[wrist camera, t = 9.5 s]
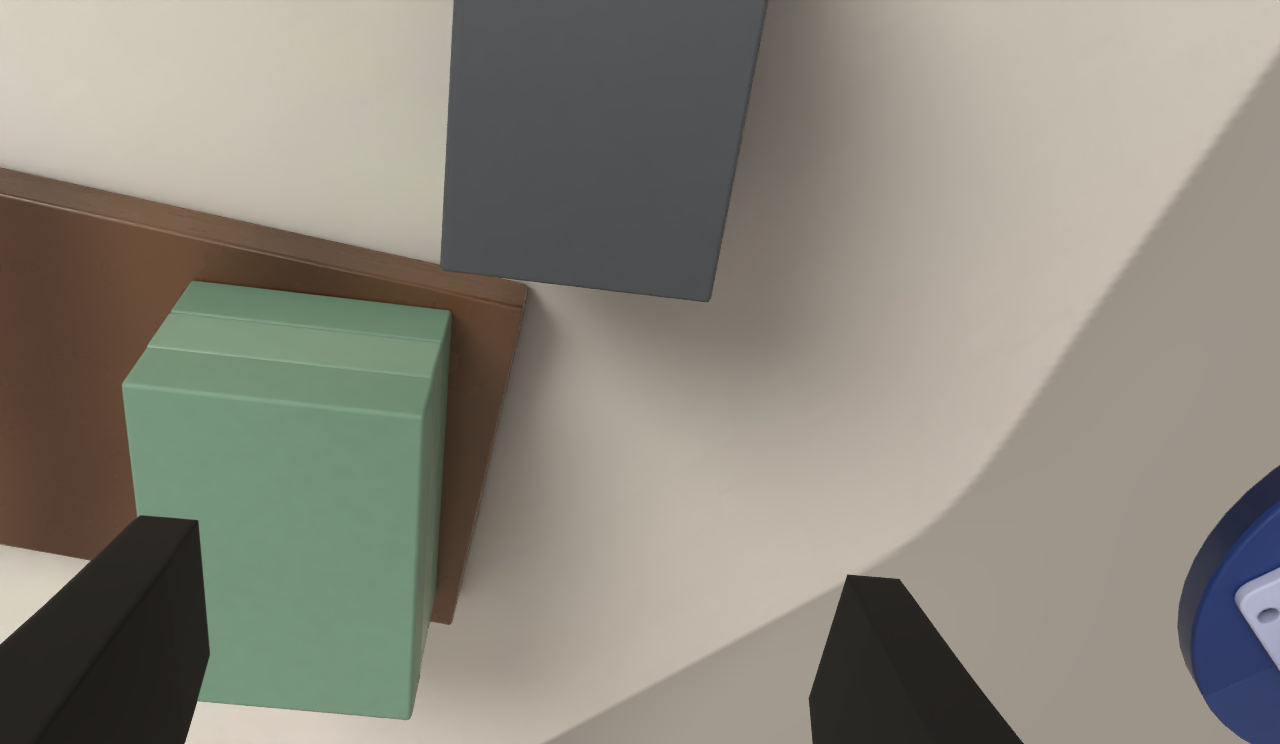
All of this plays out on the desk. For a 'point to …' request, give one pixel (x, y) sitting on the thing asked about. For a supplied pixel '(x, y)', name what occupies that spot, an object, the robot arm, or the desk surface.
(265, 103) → the desk surface
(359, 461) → the sage book
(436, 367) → the green flat block
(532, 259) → the grey books
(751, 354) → the desk surface
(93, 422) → the book ledge
